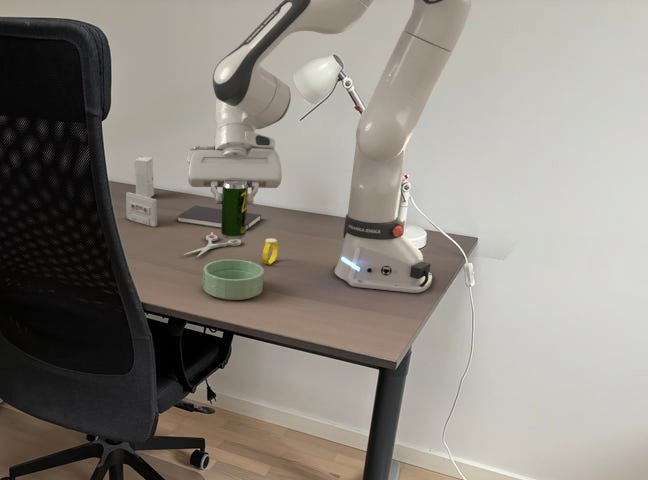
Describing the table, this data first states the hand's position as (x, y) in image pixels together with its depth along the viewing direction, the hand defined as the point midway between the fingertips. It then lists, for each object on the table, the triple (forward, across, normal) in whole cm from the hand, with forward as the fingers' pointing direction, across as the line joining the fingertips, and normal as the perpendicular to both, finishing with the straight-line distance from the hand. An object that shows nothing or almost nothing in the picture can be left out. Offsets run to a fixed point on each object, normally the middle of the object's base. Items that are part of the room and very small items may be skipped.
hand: (234, 203), depth 159 cm
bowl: (+15, 0, +13) cm, 20 cm away
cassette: (-22, -24, +50) cm, 59 cm away
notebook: (-24, -2, +52) cm, 57 cm away
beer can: (+6, 0, +5) cm, 7 cm away
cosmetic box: (-41, -25, +70) cm, 85 cm away
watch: (+2, +10, +27) cm, 29 cm away
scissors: (-6, -5, +34) cm, 35 cm away
